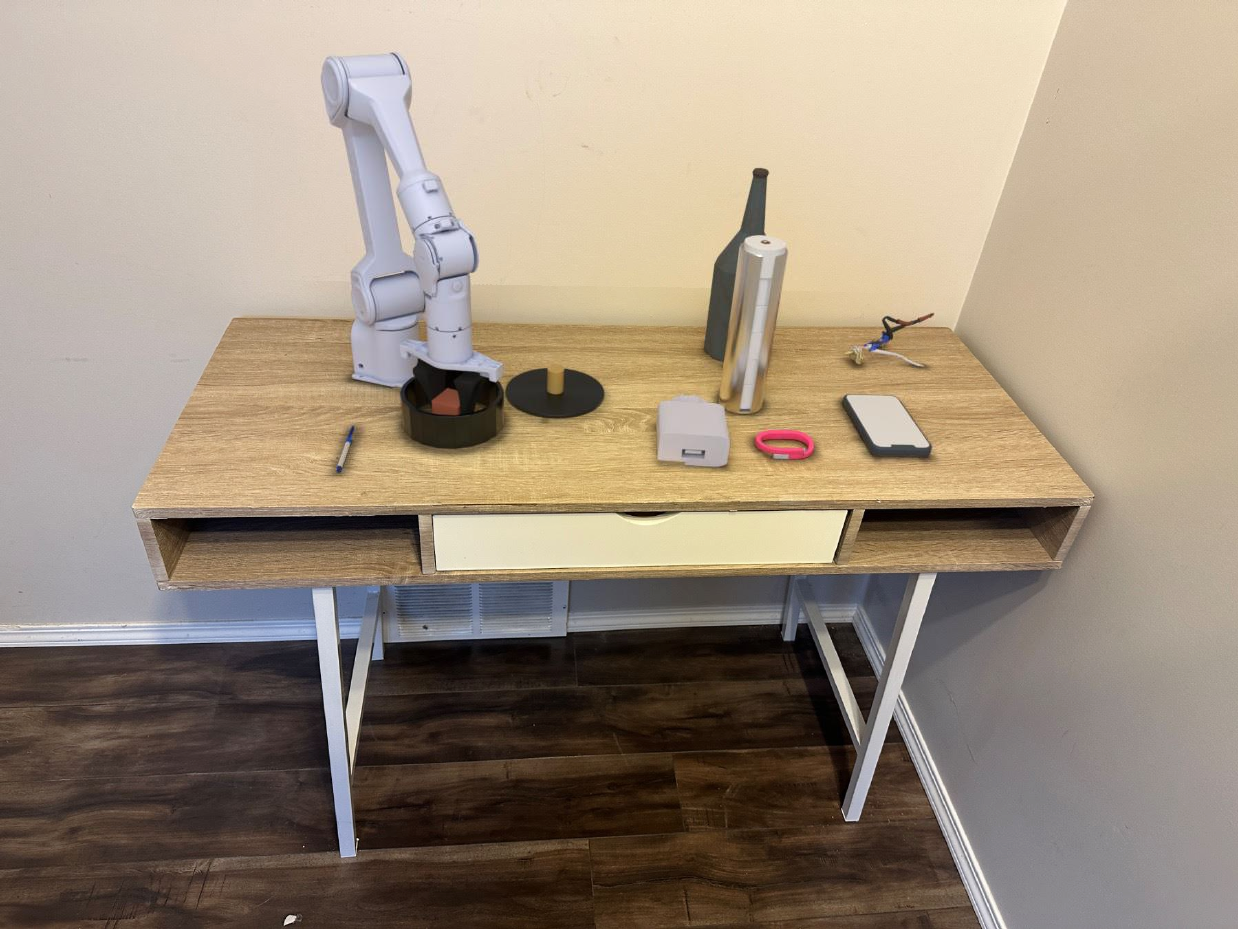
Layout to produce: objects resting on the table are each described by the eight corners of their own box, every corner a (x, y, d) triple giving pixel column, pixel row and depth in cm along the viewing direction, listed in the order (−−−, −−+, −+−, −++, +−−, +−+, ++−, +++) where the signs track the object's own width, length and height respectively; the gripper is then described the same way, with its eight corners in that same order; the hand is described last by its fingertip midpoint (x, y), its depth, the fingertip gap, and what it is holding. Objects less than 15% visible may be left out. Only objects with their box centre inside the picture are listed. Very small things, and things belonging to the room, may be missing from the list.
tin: (384, 439, 120) (381, 404, 117) (431, 393, 131) (429, 360, 128) (478, 461, 117) (477, 425, 114) (518, 412, 128) (518, 378, 125)
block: (433, 426, 123) (431, 400, 121) (448, 412, 126) (447, 387, 124) (458, 433, 122) (457, 407, 120) (473, 420, 125) (472, 394, 123)
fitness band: (759, 459, 122) (760, 449, 121) (750, 436, 127) (752, 427, 126) (817, 460, 122) (819, 450, 122) (807, 437, 127) (809, 428, 126)
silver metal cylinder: (767, 399, 136) (795, 238, 122) (754, 418, 131) (781, 252, 117) (726, 389, 138) (749, 229, 124) (712, 407, 133) (734, 242, 119)
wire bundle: (825, 389, 154) (925, 347, 157) (851, 398, 146) (956, 353, 149) (810, 332, 151) (912, 291, 154) (835, 338, 143) (943, 294, 146)
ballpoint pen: (349, 429, 122) (349, 423, 121) (356, 429, 122) (355, 423, 121) (336, 473, 113) (335, 467, 112) (343, 473, 113) (342, 467, 113)
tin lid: (489, 409, 128) (489, 380, 126) (527, 366, 140) (527, 339, 137) (585, 430, 125) (587, 401, 123) (616, 384, 137) (618, 356, 134)
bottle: (775, 352, 149) (807, 169, 133) (749, 374, 142) (780, 183, 126) (719, 335, 154) (744, 155, 137) (692, 355, 147) (714, 168, 130)
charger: (717, 411, 132) (726, 467, 119) (654, 407, 132) (657, 463, 119) (721, 382, 129) (731, 437, 117) (657, 378, 129) (660, 433, 117)
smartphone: (838, 402, 137) (870, 458, 124) (840, 393, 136) (873, 448, 123) (895, 403, 138) (933, 459, 124) (897, 394, 137) (936, 449, 123)
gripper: (514, 323, 117) (514, 414, 124) (418, 300, 121) (424, 389, 128) (486, 344, 111) (489, 437, 119) (387, 319, 115) (395, 411, 123)
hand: (453, 414), depth 123 cm, fingers closed on block, 4 cm apart
